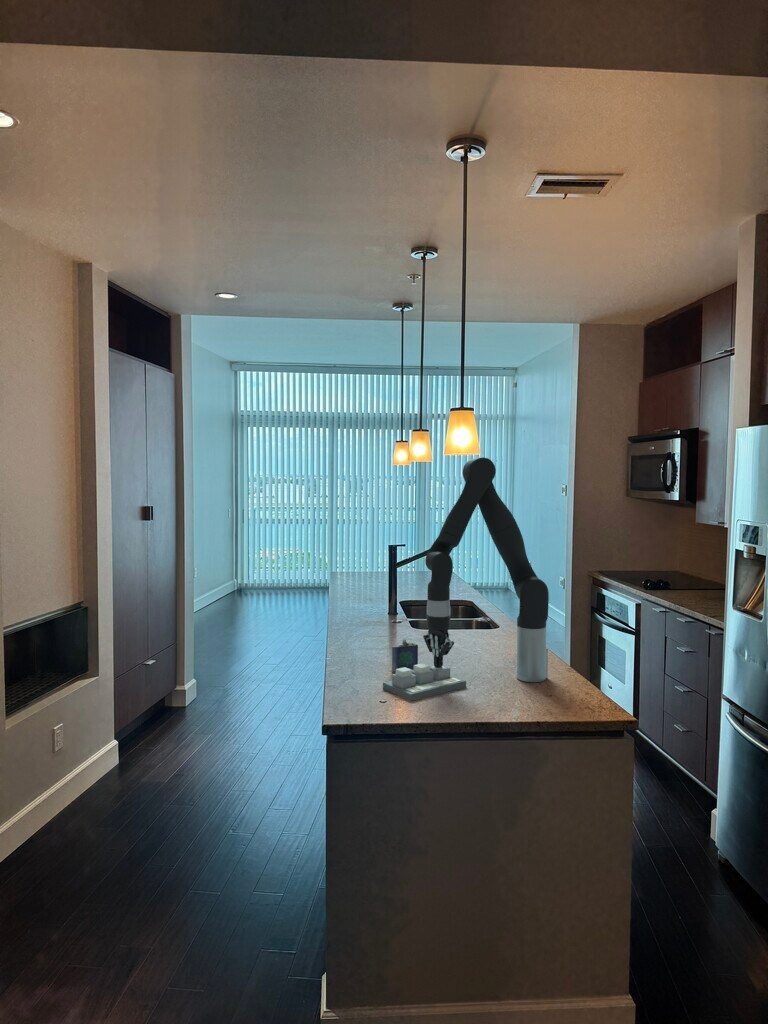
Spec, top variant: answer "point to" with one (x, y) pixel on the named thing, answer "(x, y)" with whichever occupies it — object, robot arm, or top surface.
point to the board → (424, 684)
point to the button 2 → (438, 668)
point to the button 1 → (403, 672)
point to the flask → (404, 656)
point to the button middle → (421, 668)
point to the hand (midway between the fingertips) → (438, 667)
